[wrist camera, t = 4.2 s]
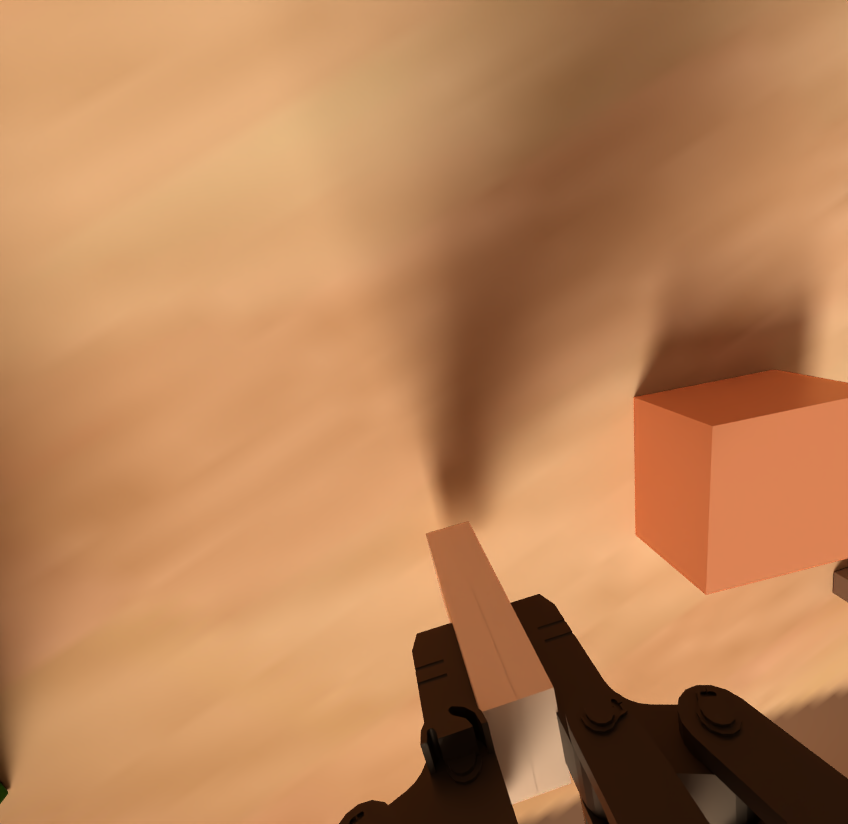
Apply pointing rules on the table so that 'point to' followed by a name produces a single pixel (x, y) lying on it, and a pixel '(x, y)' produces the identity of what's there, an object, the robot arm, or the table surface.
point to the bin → (841, 584)
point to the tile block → (743, 476)
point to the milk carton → (2, 792)
